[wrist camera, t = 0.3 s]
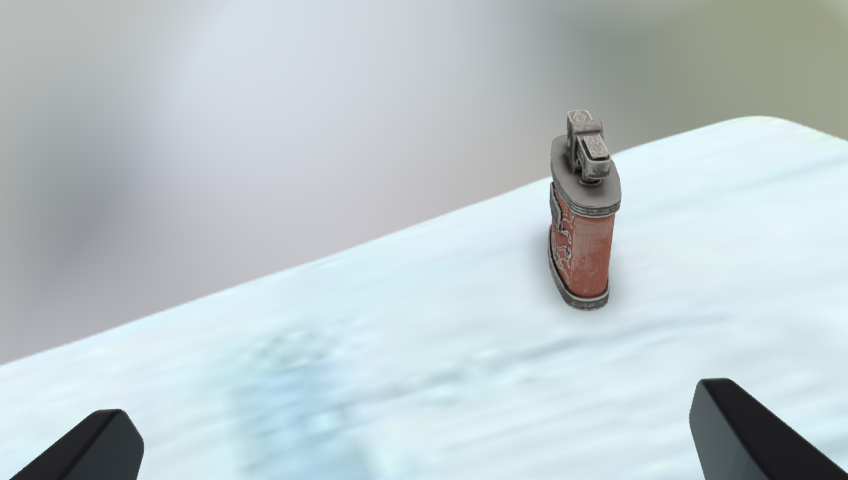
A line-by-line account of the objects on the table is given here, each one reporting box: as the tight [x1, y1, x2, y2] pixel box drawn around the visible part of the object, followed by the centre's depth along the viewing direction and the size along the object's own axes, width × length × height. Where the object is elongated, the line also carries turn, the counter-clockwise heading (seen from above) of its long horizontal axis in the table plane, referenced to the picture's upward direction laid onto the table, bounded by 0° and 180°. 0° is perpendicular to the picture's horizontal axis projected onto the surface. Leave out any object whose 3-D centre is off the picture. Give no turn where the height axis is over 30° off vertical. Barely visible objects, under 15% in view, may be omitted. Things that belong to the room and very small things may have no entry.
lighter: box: [548, 110, 621, 311], centre depth 33 cm, size 8×3×10 cm, turn 179°
